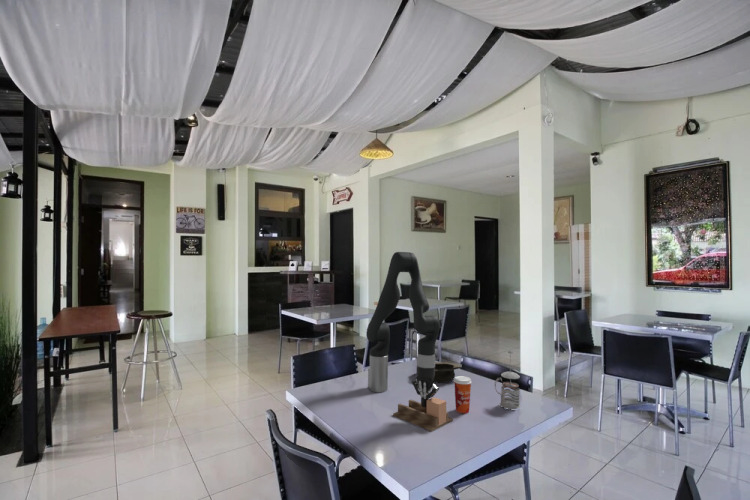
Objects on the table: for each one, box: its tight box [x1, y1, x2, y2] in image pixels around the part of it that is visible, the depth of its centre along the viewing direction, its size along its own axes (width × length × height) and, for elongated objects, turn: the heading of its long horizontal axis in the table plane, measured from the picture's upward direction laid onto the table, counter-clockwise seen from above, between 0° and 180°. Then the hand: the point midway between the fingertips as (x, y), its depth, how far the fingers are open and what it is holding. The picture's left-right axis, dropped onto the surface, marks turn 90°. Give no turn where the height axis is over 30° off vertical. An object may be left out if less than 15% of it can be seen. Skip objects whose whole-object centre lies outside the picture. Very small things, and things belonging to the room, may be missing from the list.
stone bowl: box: [434, 361, 463, 384], centre depth 209 cm, size 25×25×9 cm
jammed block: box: [427, 396, 447, 425], centre depth 150 cm, size 6×5×8 cm
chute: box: [392, 399, 454, 432], centre depth 155 cm, size 20×14×4 cm
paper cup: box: [453, 375, 472, 414], centre depth 163 cm, size 8×8×14 cm
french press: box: [494, 349, 521, 409], centre depth 169 cm, size 10×12×25 cm
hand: (424, 406), depth 154 cm, fingers closed
